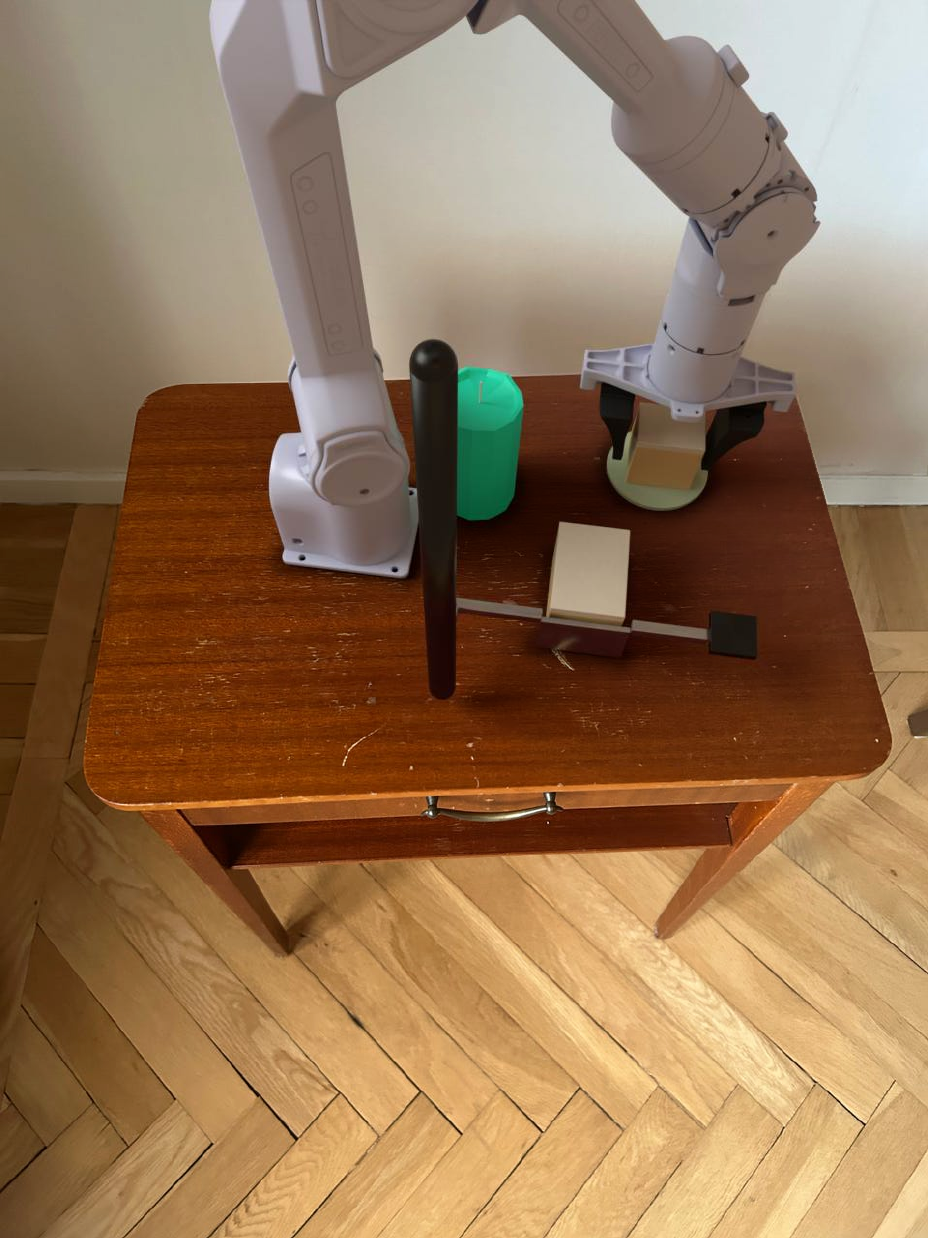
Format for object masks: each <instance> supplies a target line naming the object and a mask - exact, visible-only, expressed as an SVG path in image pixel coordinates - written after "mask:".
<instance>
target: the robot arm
mask: <svg viewBox="0 0 928 1238" xmlns="http://www.w3.org/2000/svg"><path fill="white" fill-rule="evenodd" d="M518 16H523V17H524V18H525V19H527V20H528V21H529V22H530V23H531V25H533V26H534V27H535V28H536V29H537V30H538V31H539V32H540V33H541V34H542V35H544V37H546V38H547V40H549V41H550V42H551V43H552V44H553V45H554V46H555V47H556V48H557V49H558V50H559V51H560V52H561V53H562V54H563V55H564V56H566V58H568V59H569V60H570V61H571V63H573V64H574V65H575V67H577V68H578V69H579V70H580V71H581V72H582V73H583V74H584V75H585V76H586V77H587V78H588V79H590V80H591V81H592V83H594V84H595V85H596V87H598V88H599V89H600V90H601V91H602V92H603V93H604V94H605V95H606V96H607V97H608V98H610V100H612V106H611V114H610V130H611V135H612V140H613V142H614V143H615V146H616V147H617V148H618V150H620V151H621V152H622V153H623V154H624V156H626V157H627V158H628V159H629V161H631V162H632V164H634V165H635V166H636V167H637V168H638V170H640V171H641V173H642V174H644V176H646V177H647V178H648V179H649V180H650V181H651V182H652V184H654V185H655V187H657V188H658V190H660V192H662V194H664V196H666V197H667V199H669V200H670V202H671V203H672V204H673V205H675V207H677V208H678V210H680V212H681V213H682V214H684V215H685V216H687V217H688V218H687V221H686V225H685V229H684V233H683V237H682V240H681V244H680V247H679V251H678V255H677V258H676V262H675V266H674V269H673V273H672V276H671V281H670V285H669V287H668V291H667V295H666V299H665V302H664V306H663V310H662V313H661V316H660V319H659V323H658V327H657V331H656V334H655V337H654V342H652V343H644V344H638V345H633V346H625V347H618V348H612V349H599V350H598V349H585V350H584V355H583V359H582V360H583V361H582V366H581V373H580V374H581V375H580V382H579V383H580V385H579V389H580V390H586V391H594V390H596V388H597V385H600V391H599V392H600V393H599V405H598V410H599V416H600V419H601V420H602V421H603V423H604V424H605V426H606V428H607V430H608V433H609V435H610V439H611V445H612V446H613V453H612V459H613V460H621V459H622V457H623V452H624V445H625V439H626V436H627V433H629V430H630V427H631V426H632V423H634V422H633V421H634V410H635V401H636V396H639V397H641V398H644V399H646V400H649V401H651V402H653V403H655V404H660V405H664V406H666V407H669V408H670V409H671V417H672V418H673V419H674V420H677V421H683V422H691V423H698V422H700V421H701V419H702V416H703V414H704V411H706V412H709V411H715V414H714V417H713V419H712V421H711V423H710V426H709V428H708V430H707V431H706V443H705V452H704V454H703V457H702V459H701V470H706V471H708V472H709V471H710V470H712V468H714V466H715V465H716V464H717V463H718V462H719V461H720V460H721V458H723V457H724V456H725V455H726V454H727V453H729V452H730V451H731V450H732V449H733V448H735V447H737V446H739V445H740V444H742V443H744V442H747V441H748V440H751V439H755V438H757V437H758V435H759V434H760V433H761V431H762V430H763V427H764V425H765V411H766V408H767V405H768V404H770V409H771V410H772V411H774V412H779V413H787V412H788V411H789V409H790V407H791V405H792V403H793V401H794V400H795V397H796V395H797V384H796V373H795V372H793V371H787V370H782V369H777V368H773V367H771V366H768V365H764V364H762V363H760V362H756V361H754V360H752V359H749V358H746V357H744V356H742V354H743V351H744V349H745V346H746V344H747V342H748V340H749V337H750V335H751V332H752V330H753V327H754V325H755V322H756V320H757V318H758V317H757V316H758V314H759V312H760V309H761V307H762V304H763V302H764V301H765V300H764V299H765V298H766V294H767V293H768V292H769V291H770V289H771V287H772V286H775V285H776V284H777V283H778V281H779V278H780V275H781V273H782V271H783V270H784V268H785V267H786V265H787V264H788V263H789V262H790V261H791V260H792V259H793V258H795V256H797V255H798V254H799V253H800V252H801V251H802V250H803V249H805V247H806V246H807V245H808V244H809V243H810V241H811V240H812V239H813V237H814V236H815V234H816V233H817V231H818V229H819V227H820V225H821V221H820V220H817V219H818V218H817V217H816V215H815V212H816V209H817V206H816V204H815V202H818V194H817V193H818V192H817V190H816V187H815V186H814V184H813V183H812V181H811V179H810V178H809V176H808V175H807V174H806V172H805V171H804V169H803V168H802V166H801V165H800V163H799V162H798V160H797V159H796V157H795V155H794V154H793V152H791V150H790V148H789V147H788V145H787V144H786V142H785V140H786V139H787V138H788V135H789V132H788V130H787V128H786V127H785V125H784V124H783V123H782V121H781V120H780V118H779V117H778V115H777V114H776V113H775V112H774V111H769V112H767V113H766V112H764V111H761V110H760V109H759V108H758V106H757V105H756V104H755V103H756V102H754V101H753V100H752V98H751V97H750V96H749V94H748V92H747V91H746V89H745V88H744V87H743V85H744V84H745V83H746V82H747V81H748V80H749V79H750V73H749V71H748V70H747V69H746V67H745V66H744V64H743V62H742V61H741V59H740V58H739V57H738V55H737V54H736V52H735V51H734V50H733V48H732V47H731V46H730V45H729V44H724V45H723V46H722V47H721V48H720V49H719V50H718V51H716V49H714V47H713V45H712V44H711V43H710V42H708V41H707V40H706V39H704V38H702V37H699V36H696V35H695V36H694V35H680V36H674V37H672V38H668V39H664V37H663V36H662V34H660V32H659V31H658V30H657V28H656V27H655V25H654V24H653V23H652V21H651V20H650V18H649V17H648V16H647V14H646V13H645V11H643V9H642V8H641V6H640V5H639V4H638V2H637V1H636V0H211V2H210V9H209V13H208V19H209V30H210V32H209V33H210V39H211V44H212V49H213V52H214V59H215V63H216V67H217V72H218V77H219V81H220V85H221V87H222V92H223V96H224V100H225V102H226V107H227V110H228V114H229V118H230V122H231V125H232V129H233V133H234V136H235V140H236V144H237V148H238V152H239V156H240V159H241V163H242V166H243V170H244V174H245V178H246V181H247V185H248V189H249V192H250V193H249V194H250V196H251V201H252V205H253V208H254V212H255V215H256V219H257V223H258V227H259V230H260V235H261V238H262V241H263V246H264V249H265V253H266V257H267V261H268V264H269V268H270V270H271V275H272V279H273V283H274V286H275V290H276V294H277V298H278V301H279V306H280V310H281V314H282V317H283V321H284V324H285V329H286V332H287V335H288V340H289V342H290V348H291V350H292V354H293V355H292V358H291V360H290V363H289V366H288V368H287V369H288V370H287V383H288V386H289V390H290V392H291V393H292V396H293V400H294V405H295V410H296V414H297V419H298V423H299V424H298V425H299V428H300V432H288V433H287V432H286V433H282V434H281V435H280V436H279V437H278V439H277V441H276V443H275V446H274V449H273V452H272V456H271V461H270V467H269V477H268V492H269V493H268V494H269V495H268V496H269V502H270V507H271V510H272V513H273V516H274V520H275V523H276V526H277V530H278V532H279V536H280V538H281V542H282V545H283V549H284V550H283V553H282V560H283V563H284V564H286V565H292V566H298V567H299V566H300V567H306V568H307V567H309V568H316V569H324V570H332V571H339V572H347V573H355V574H363V575H370V576H378V577H379V576H380V577H387V578H395V579H406V578H407V577H408V576H409V572H410V567H411V562H412V557H413V552H414V547H415V542H416V536H417V533H418V528H419V517H418V501H417V487H416V488H415V487H410V486H409V485H410V484H409V474H410V471H411V461H410V457H409V454H408V452H407V449H406V443H405V439H404V437H403V434H402V433H401V431H400V430H399V428H398V424H397V420H396V417H395V413H394V410H393V406H392V403H391V399H390V395H389V392H388V389H387V385H386V381H385V378H384V367H383V362H382V358H381V356H380V354H379V352H378V351H377V349H376V348H375V347H374V345H373V337H372V331H371V323H370V319H369V312H368V311H369V310H368V306H367V299H366V291H365V285H364V279H363V273H362V272H363V271H362V266H361V260H360V252H359V247H358V239H357V234H356V227H355V221H354V216H353V215H354V214H353V213H354V212H353V207H352V201H351V195H350V188H349V181H348V174H347V169H346V163H345V156H344V155H345V154H344V149H343V142H342V135H341V129H340V123H339V116H338V109H337V101H338V99H339V97H341V95H342V94H343V93H344V92H346V91H348V90H349V89H351V88H354V87H355V86H356V85H358V84H360V83H361V82H363V81H365V80H366V79H368V78H370V77H371V76H373V75H375V74H376V73H379V72H380V71H382V70H383V69H385V68H388V67H389V66H391V65H392V64H394V63H396V62H397V61H399V60H401V59H402V58H404V57H406V56H408V55H410V54H411V53H412V52H414V51H416V50H418V49H420V48H422V47H423V46H425V45H426V44H429V43H430V42H432V41H434V40H435V39H437V38H439V37H440V36H442V35H443V34H445V33H446V32H447V31H449V30H450V29H451V28H453V27H454V26H456V25H457V24H458V23H460V22H461V21H462V20H463V19H466V20H467V21H466V22H467V23H468V24H469V27H470V30H471V32H472V33H473V34H474V35H479V36H481V35H485V34H488V33H490V32H491V31H494V30H495V29H497V28H498V27H500V26H502V25H504V24H505V23H508V22H509V21H511V20H513V19H515V17H518ZM410 494H411V495H410ZM302 558H303V559H304V560H302ZM394 570H397V571H396V572H395V571H394Z"/></svg>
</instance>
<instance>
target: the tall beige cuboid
mask: <svg viewBox="0 0 928 1238" xmlns="http://www.w3.org/2000/svg"><path fill="white" fill-rule="evenodd" d="M630 543H631V530H630V529H624V528H615V527H608V526H607V527H606V526H600V525H599V526H597V525H592V524H591V525H590V524H582V523H574V522H567V521H566V522H565V521H559V523H558V528H557V533H556V539H555V544H554V548H553V555H552V559H551V567H550V568H551V569H550V577H549V588H548V596H547V604H546V605H547V606H546V615H545V617H550V618H558V619H566V620H574V621H582V622H590V623H597V624H605V625H613V626H621V627H623V625H624V621H625V619H626V611H627V595H628V579H629V577H628V576H629V563H630V562H629V560H630Z"/></svg>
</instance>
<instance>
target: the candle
mask: <svg viewBox="0 0 928 1238" xmlns="http://www.w3.org/2000/svg"><path fill="white" fill-rule="evenodd" d="M524 407H525V404H524V399H523V393H522V390H521V388H519V386H518V384H517V383H516V382H515V381H514V379H513V377H512V376H511V375H510V374H509V373H507V372H503V371H500V370H496V369H491V368H485V367H477V366H464V367H462V368H460V369H458V453H457V517H460V518H463V519H465V520H467V521H485V520H491V519H493V518H494V517H497V516H498V515H500V514H503V512H506V510H507V509H508V508H509V505H510V504H511V502H512V500H513V499H514V497H515V491H516V482H517V472H518V463H519V453H520V446H521V445H520V444H521V434H522V423H523V416H524V415H523V414H524Z"/></svg>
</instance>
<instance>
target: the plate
mask: <svg viewBox="0 0 928 1238" xmlns="http://www.w3.org/2000/svg"><path fill="white" fill-rule="evenodd" d="M631 432H632V430H631V431H628V433H627V436H626V439H625V445H624V452H623V457H622V459H621V460H613V459H612V453H613V445H612V446H611V447H610V450H609V452H608V455H607V459H606V471H607V473H606V474H607V477H608V479H609V482H610V483H611V485H612V487H613V489H614V490H615V491H616V492H617V494H619V495H620V496H621V497H622V498H623V499H625V500H626V501H627V502H629V503H631V504H633V505H634V506H637V507H639V508H642V509H646V510H651V511H657V512H658V511H660V512H665V511H666V512H668V511H674V510H675V511H676V510H678V509H682V508H684V507H686V506H688V505H689V504H691V503H693V502H694V501H695V500H696V499H697V498H698V497H699V496H700V495H701V494H702V492H703V490H704V489H705V487H706V484H707V481H708V475H709V471H706V470H701V462H700V464H699V467H698V469H697V472H696V474H695V477H694V479H693V482H692V484H691V487H690V489H689V490H685V489H676V488H668V487H659V486H651V485H643V484H634V483H626V471H627V455H628V443H629V440H630V436H631Z"/></svg>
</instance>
